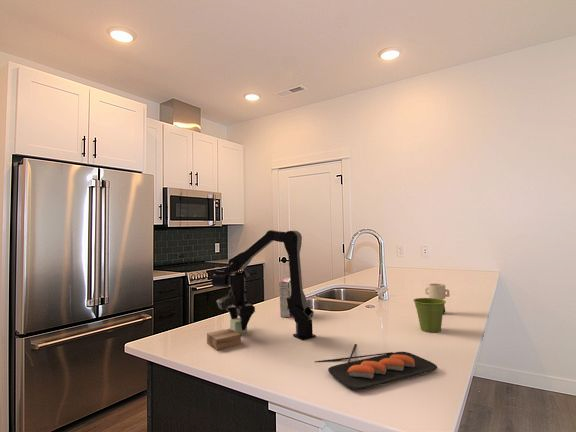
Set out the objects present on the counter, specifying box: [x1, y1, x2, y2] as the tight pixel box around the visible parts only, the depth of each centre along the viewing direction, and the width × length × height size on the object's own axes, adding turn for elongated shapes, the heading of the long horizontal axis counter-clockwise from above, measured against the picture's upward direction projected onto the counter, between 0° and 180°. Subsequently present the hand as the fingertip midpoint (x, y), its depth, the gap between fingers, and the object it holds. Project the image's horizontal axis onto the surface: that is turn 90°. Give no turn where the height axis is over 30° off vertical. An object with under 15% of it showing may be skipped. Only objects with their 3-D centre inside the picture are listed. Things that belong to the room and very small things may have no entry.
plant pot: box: [412, 297, 447, 333], centre depth 130 cm, size 12×12×11 cm
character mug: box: [424, 283, 451, 313], centre depth 155 cm, size 11×7×13 cm, turn 46°
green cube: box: [229, 317, 248, 335], centre depth 134 cm, size 5×5×5 cm
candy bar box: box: [278, 277, 293, 318], centre depth 160 cm, size 11×5×16 cm, turn 168°
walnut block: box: [206, 328, 242, 351], centre depth 120 cm, size 9×9×4 cm
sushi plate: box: [314, 343, 438, 390], centre depth 100 cm, size 29×30×4 cm
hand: (238, 327), depth 134 cm, fingers open, 9 cm apart
